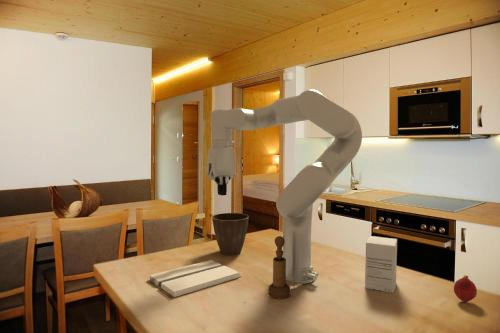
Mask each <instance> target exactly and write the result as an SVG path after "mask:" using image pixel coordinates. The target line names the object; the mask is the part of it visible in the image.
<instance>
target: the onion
mask: <svg viewBox="0 0 500 333" xmlns="http://www.w3.org/2000/svg"><path fill="white" fill-rule="evenodd" d="M477 290H478V289H477V287H476V284H475V283H474V282H473V281H472V280H471V279H469V275H467V274H464V275H463V277H461V278H459V279H457V280H456V281H455V283H454V285H453V293H454V295H455V296H456V297H457V298H458V299H459V300H460V301H461V302H463V303H467V302H468V303H469V302H470V301H472V300H474V299H475V298H476V297H477V295H478V291H477Z"/></svg>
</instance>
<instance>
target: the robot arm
mask: <svg viewBox="0 0 500 333" xmlns="http://www.w3.org/2000/svg"><path fill="white" fill-rule="evenodd" d="M210 118H211V119H210V120H211V121H210V122H211V124H210V125H211V126H210V127H211V128H210V132H211V134H210V136H211V138H210V140H211V141H210V142H211V144H210V146H211V148H209V149H208V153H207V160H206V161H207V162H206V173H207V175H208V179H209V180H212V181H214V182H215V184H216V185H217V195H218V196H222V197H223V196H227V192H228V191H227V190H228V186H227V185H228V184H229V182H230V180H232V179H234V178H235V176H236V175H235V174H236V170H237V164H236V163H237V162H236V155H235V149H234V148H233V146H234V145H235V141H234V140H233V130H236V131H237V130H238V131H255V130H259V129H265V128H266V129H267V128H270V127H276V126H277V127H278V126H281V125H286V124H291V123H299V122H305V121H309V122H311V123H313V125H316V126H317V127H319V128H321V129H322V130H323V131H325V132H326V133H327V134H329V135H330V136H332V137H334V139H333V141H332V142H331V143H330V144H329V146H327V148H326V149H325V150H324V151H323V153H322V154H321V155H320V156H319V157H318V158H317V159H316V160H315V161H314V162H312V163H309V164H308V165H306V166H305V167H303V168H302V169H301V170H300V171H299V172H298V173H297V174H296V175H295V177H294V178H292V180H291V181H290V182H289V183H288V184H287V186H285V187H284V189H283V190H282V191H281V192H280V193H279V195H278V196H277V198H276V204H275V206H276V210H277V212H278V214H279V215H280V216H281V217H282V218H283V221H282V222H283V223H282V237H283V238H284V240H285V243H284V245H283V247H282V251H283V256H282V257H283V258H285V259H286V281H290V282H295V283H293V285H305V284H306V285H307V284H310V283H312V282H316V281H317V279H318V277H319V273H318V272H316V271H314V266H313V265H312V263H311V262H312V255H311V254H312V248H311V247H312V217H313V205H314V203H315V202H316V201H317V200H318V199H319V198H320V197H321V196H322V195H323V194H324V193H325V191H326V190H328V189H329V188H330V186H331V185H332V184H333V182H334V181H335V180H336V179H337V178H338V177H339V175H341V173H342V172H343V171H344V170H345V169H346V168H347V167H348V165H350V164H351V162H352V161H353V160H354V158H355V157H356V155H357V154H358V152H359V151H360V148H361V146H362V141H363V132H362V128H361V124H360V122H359V120H358V117H356V116H355V115H354V114H353V113H352V112H350V111H349V110H347V109H345V108H344V107H342V106H341V105H339V104H338V103H336V102H335V101H334V100H333V101H332V100H331V99H329V98H328V97H326V96H325V95H323V93H321V92H320V91H318V90H317V89H316V90H315V89H306V90H304V91H302V92H301V93H300V94H298V95H294V96H289V97H284V98H279V99H276V100H275V101H273V102H272V103H271V104H270V105H266V106H263V107H262V106H261V107H259V108H257V107H256V108H253V109H247V108H246V109H245V108H242V107H236V108H231V109H214V110H212V111H211V113H210Z"/></svg>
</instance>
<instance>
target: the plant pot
mask: <svg viewBox="0 0 500 333" xmlns="http://www.w3.org/2000/svg"><path fill="white" fill-rule="evenodd" d="M211 219H212V226H213V231H214V236H215V239H216V242H217V245H218V248H219V251H220V254H221V255H225V256H235V255H236V256H238V255H241V253H242V250H243V247H244V243H245V240H246V235H247V232H248V225H249V215H248V214H245V213H240V212H223V213H217V214H213V215H212V217H211Z"/></svg>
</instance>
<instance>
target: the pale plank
mask: <svg viewBox="0 0 500 333" xmlns="http://www.w3.org/2000/svg"><path fill="white" fill-rule="evenodd" d="M239 276H240V272H239V271H237V270H235V269H233V268H231V267H228V266H226V265H221V267H217V268H214V269H210V270H206V271H203V272H199V273H195V274H192V275H188V276H184V277H181V278H177V279H173V280H170V281H166V282H162V283H161V288H162V289H164V290H165V291H166V292H168V293H169V294H171V295H172V296H173V297H175V298H178V297H181V296H180V295H182V296H184V295H183V294H185V295H187V294H186V293H188V294H191V293H193V291H195V292H197V291H196V290H198V291H200V290H199V289H201V290H204V289H207V288H206V287H208V288H210V287H209V286H211V287H213V286H212V285H214V286H217V285H220V284H219V283H221V284H223V283H222V282H224V283H226V282H225V281H227V282H229V280H230V281H233V280H236V279H235V278H237V279H239V278H238V277H239ZM232 279H233V280H232ZM216 284H217V285H216ZM203 288H204V289H203ZM190 292H191V293H190ZM177 296H178V297H177Z"/></svg>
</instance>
